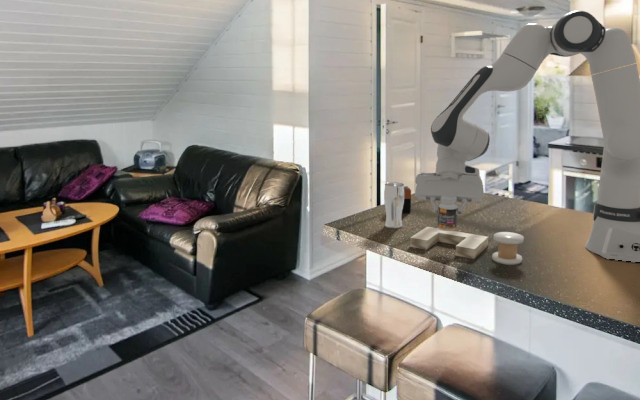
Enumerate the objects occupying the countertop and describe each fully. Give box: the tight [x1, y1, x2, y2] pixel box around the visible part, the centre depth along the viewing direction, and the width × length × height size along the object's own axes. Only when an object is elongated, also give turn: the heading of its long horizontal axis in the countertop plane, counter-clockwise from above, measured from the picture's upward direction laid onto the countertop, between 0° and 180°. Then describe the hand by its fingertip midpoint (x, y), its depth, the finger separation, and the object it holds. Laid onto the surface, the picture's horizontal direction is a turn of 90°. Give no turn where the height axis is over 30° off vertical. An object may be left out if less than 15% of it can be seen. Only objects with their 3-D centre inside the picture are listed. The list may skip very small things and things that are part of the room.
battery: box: [402, 185, 412, 214], centre depth 194 cm, size 4×7×10 cm, turn 90°
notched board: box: [409, 226, 489, 260], centre depth 156 cm, size 20×13×3 cm, turn 55°
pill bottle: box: [436, 196, 459, 231], centre depth 152 cm, size 6×6×10 cm
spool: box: [491, 231, 525, 266], centre depth 144 cm, size 8×8×7 cm
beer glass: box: [383, 181, 405, 230], centre depth 176 cm, size 7×7×15 cm
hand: (447, 212), depth 151 cm, fingers closed on pill bottle, 6 cm apart
